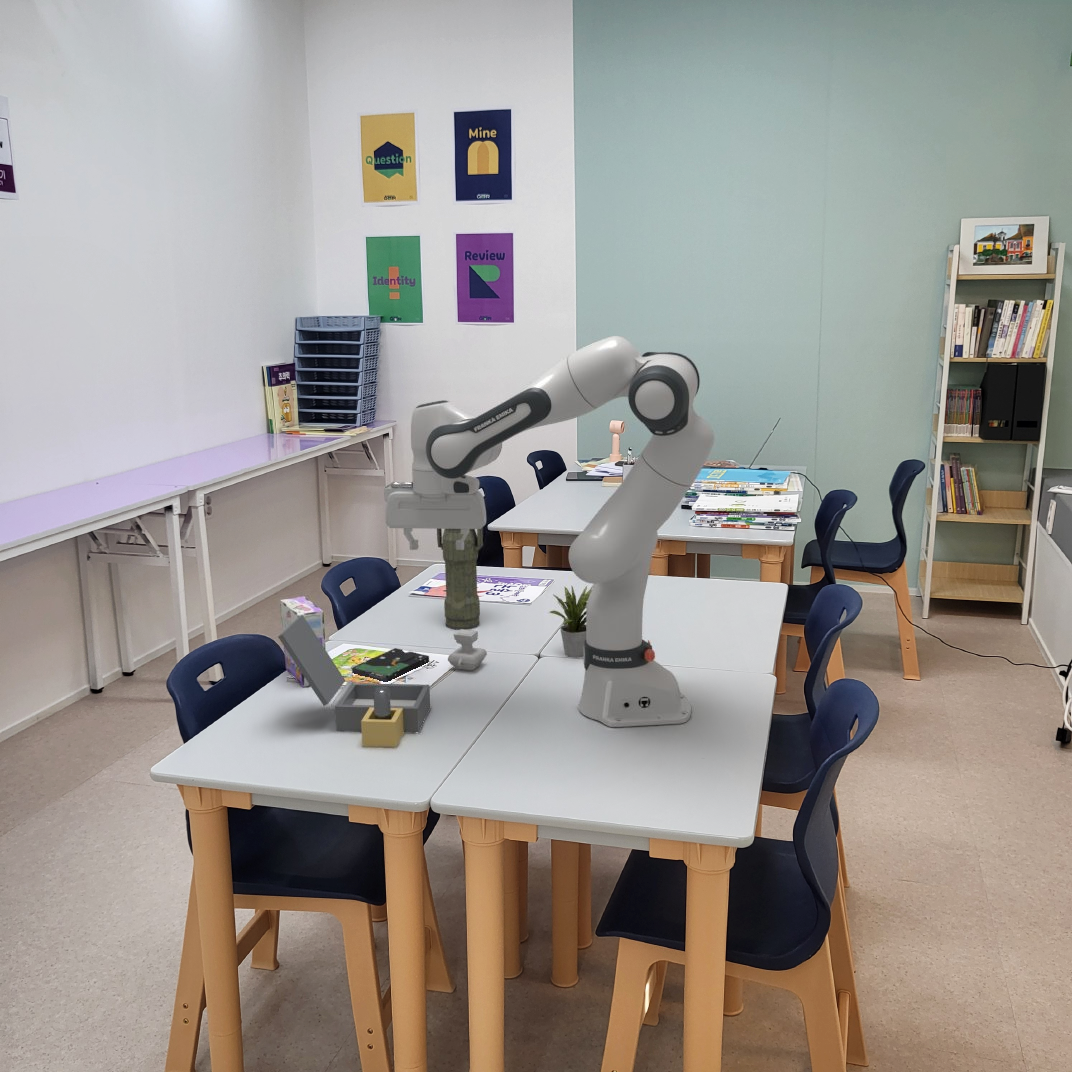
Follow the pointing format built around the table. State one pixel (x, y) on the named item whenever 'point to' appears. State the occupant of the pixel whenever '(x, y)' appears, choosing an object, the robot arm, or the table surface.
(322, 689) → the case lid
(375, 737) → the frame
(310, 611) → the candy box
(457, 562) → the thermos
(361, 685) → the case
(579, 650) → the house plant
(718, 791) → the table surface
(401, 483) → the robot arm
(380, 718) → the rod
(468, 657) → the stamp
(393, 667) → the disk drive
